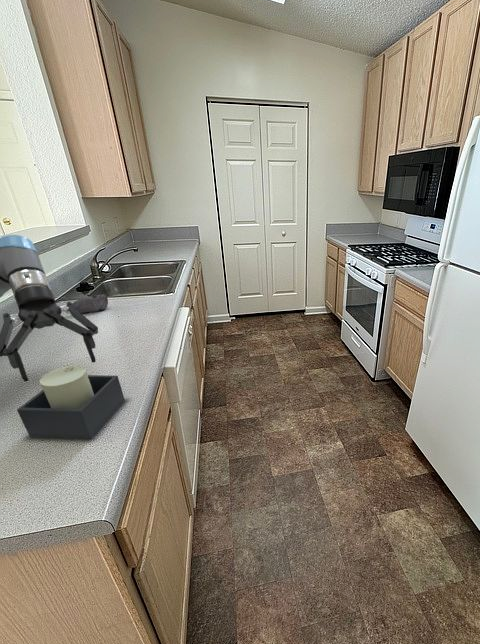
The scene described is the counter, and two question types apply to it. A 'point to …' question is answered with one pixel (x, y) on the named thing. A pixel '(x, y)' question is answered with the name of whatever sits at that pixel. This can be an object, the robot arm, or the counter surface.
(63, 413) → the open box
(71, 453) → the counter surface
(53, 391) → the can
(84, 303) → the perforated stone tool
